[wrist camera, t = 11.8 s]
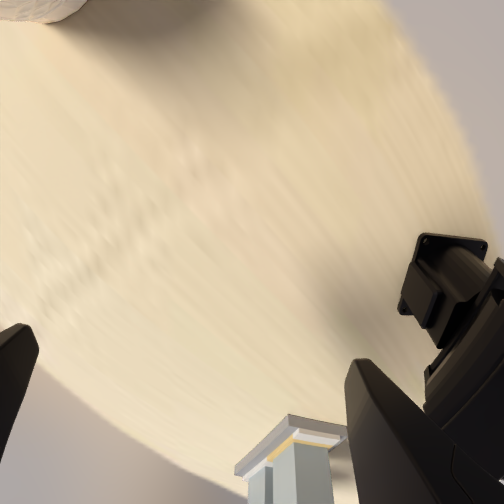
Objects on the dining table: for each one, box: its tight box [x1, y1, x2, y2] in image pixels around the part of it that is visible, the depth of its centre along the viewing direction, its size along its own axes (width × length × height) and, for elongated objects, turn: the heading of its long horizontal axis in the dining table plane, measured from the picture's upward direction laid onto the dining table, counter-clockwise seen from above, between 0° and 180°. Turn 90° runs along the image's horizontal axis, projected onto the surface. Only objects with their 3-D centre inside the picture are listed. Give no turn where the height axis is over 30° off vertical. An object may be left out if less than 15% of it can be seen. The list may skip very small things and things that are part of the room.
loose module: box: [273, 442, 334, 504], centre depth 23 cm, size 4×4×11 cm
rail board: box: [234, 414, 348, 482], centre depth 30 cm, size 14×7×2 cm, turn 156°
